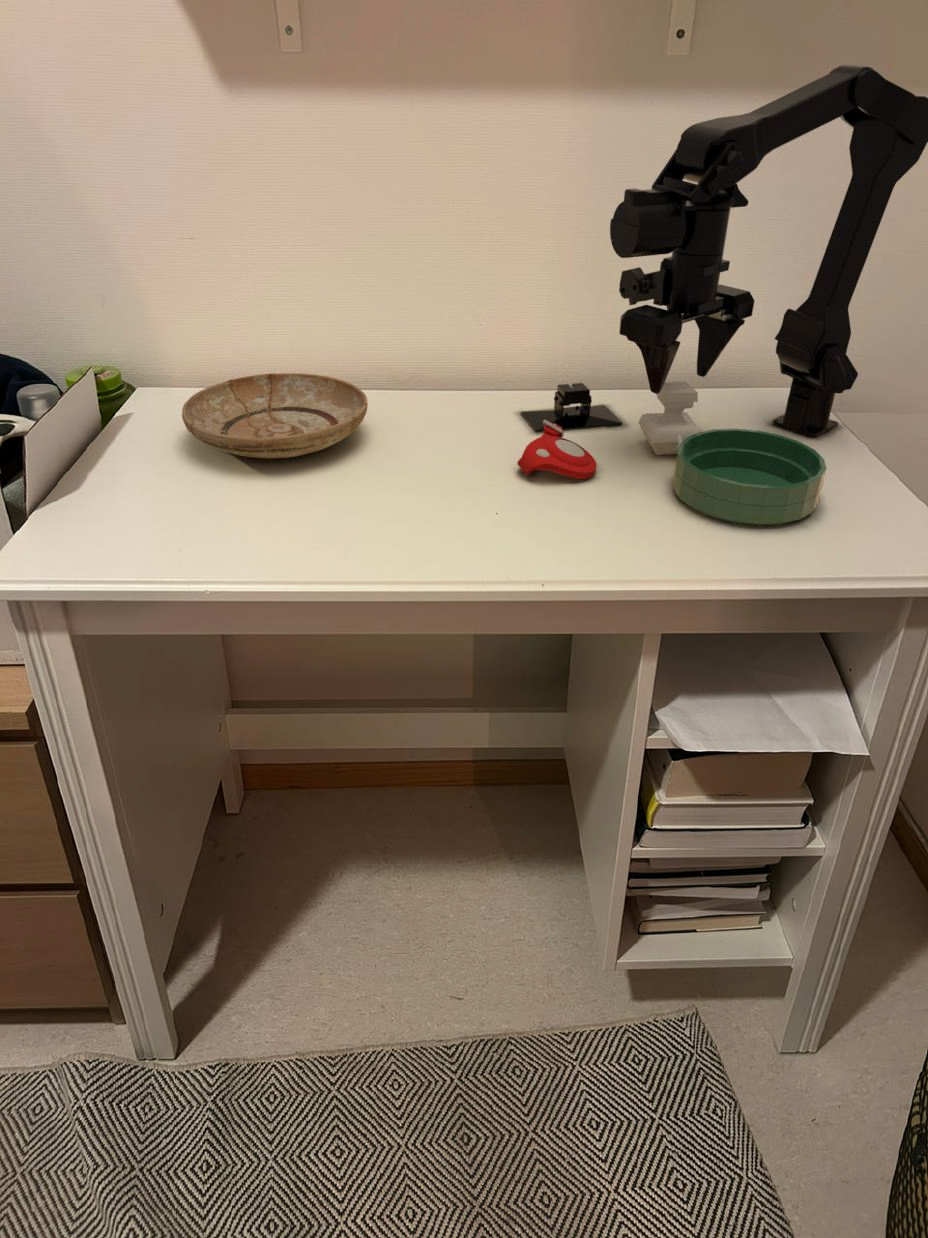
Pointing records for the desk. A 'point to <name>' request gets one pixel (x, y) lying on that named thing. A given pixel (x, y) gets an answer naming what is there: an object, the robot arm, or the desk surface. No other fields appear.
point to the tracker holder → (557, 455)
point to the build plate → (572, 411)
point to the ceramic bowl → (275, 414)
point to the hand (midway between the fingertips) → (678, 383)
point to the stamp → (670, 418)
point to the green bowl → (748, 476)
